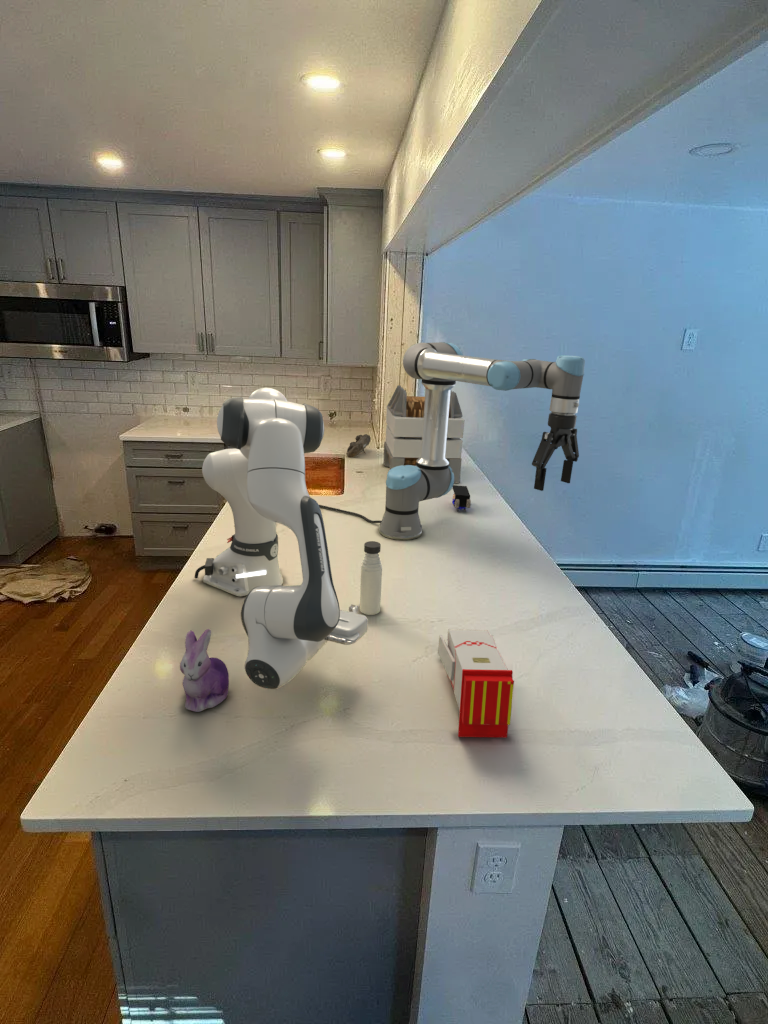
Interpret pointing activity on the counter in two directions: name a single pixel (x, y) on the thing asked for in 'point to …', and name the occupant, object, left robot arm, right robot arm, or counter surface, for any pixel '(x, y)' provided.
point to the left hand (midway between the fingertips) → (336, 603)
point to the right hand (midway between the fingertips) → (552, 485)
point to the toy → (478, 682)
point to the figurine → (202, 674)
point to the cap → (372, 547)
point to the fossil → (358, 445)
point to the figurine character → (461, 497)
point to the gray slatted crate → (419, 431)
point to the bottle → (370, 584)
